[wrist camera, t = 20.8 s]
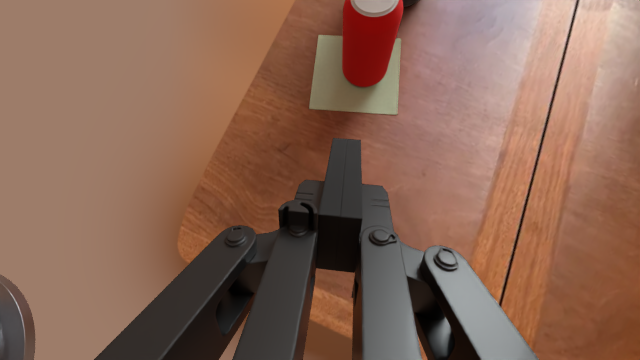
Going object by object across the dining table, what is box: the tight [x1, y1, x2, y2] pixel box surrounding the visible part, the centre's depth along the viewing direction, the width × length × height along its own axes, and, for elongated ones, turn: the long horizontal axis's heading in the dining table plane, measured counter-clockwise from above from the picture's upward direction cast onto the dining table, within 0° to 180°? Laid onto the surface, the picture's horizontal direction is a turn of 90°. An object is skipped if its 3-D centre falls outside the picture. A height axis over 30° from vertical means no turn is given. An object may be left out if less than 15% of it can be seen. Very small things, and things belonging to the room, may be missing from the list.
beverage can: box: [342, 0, 403, 88], centre depth 32 cm, size 6×6×12 cm
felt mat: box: [309, 35, 401, 115], centre depth 38 cm, size 12×12×1 cm
